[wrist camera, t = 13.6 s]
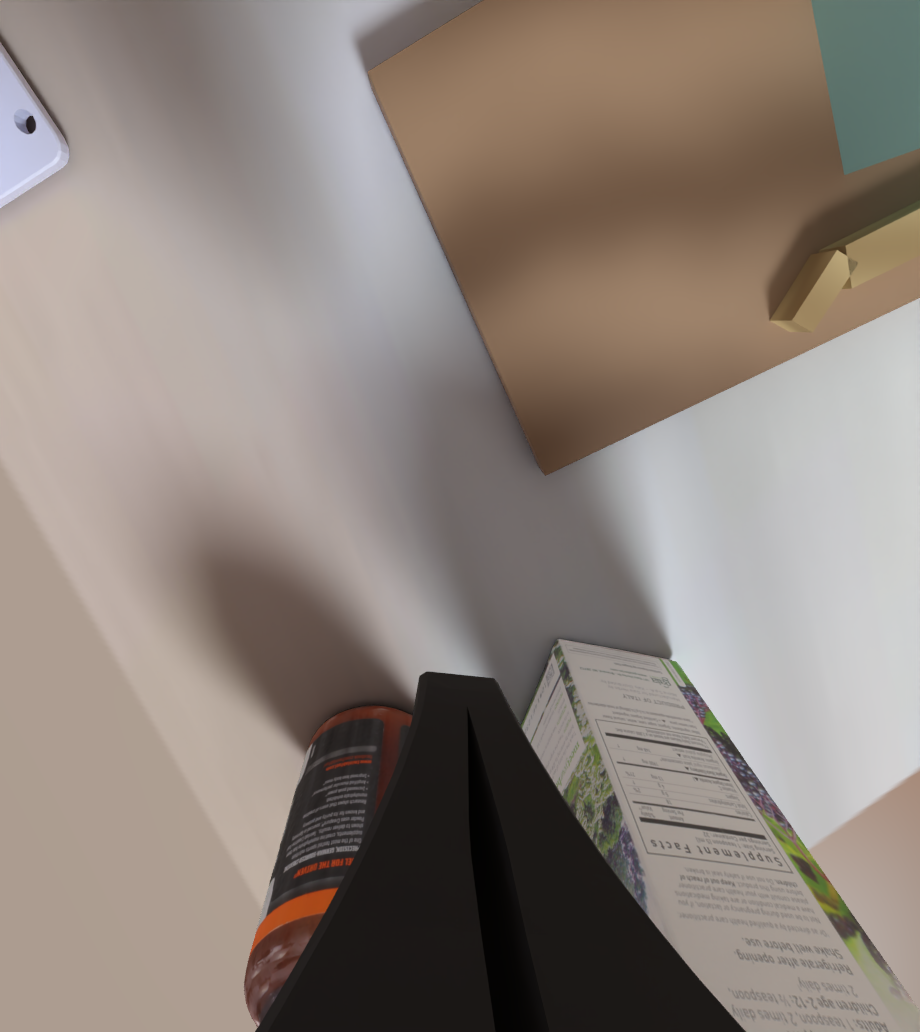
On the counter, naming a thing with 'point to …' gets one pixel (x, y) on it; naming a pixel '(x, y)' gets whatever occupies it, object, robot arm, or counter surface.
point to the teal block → (871, 76)
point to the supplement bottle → (321, 838)
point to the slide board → (644, 201)
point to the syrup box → (706, 846)
